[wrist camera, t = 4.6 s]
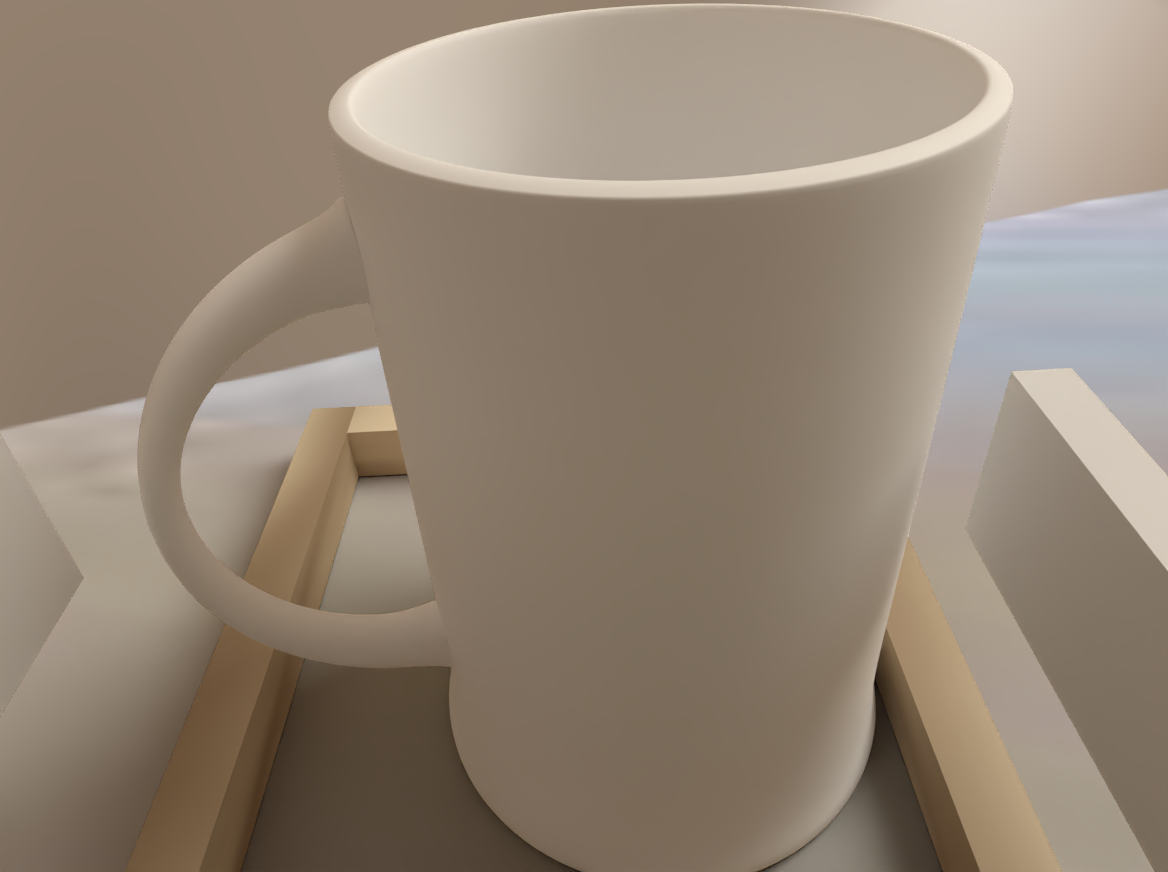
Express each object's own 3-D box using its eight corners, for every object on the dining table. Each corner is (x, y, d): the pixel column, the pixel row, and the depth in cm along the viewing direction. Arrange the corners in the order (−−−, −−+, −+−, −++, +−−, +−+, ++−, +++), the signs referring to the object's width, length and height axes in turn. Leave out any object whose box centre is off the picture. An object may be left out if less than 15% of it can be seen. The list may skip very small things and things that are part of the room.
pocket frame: (829, 425, 24) (836, 381, 23) (1185, 1274, 10) (1236, 1247, 9) (325, 451, 24) (312, 408, 24) (12, 1317, 11) (-48, 1293, 10)
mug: (271, 1006, 13) (-191, 333, 6) (294, 603, 20) (88, 55, 13) (963, 823, 15) (1248, 129, 8) (771, 508, 22) (827, -22, 14)
